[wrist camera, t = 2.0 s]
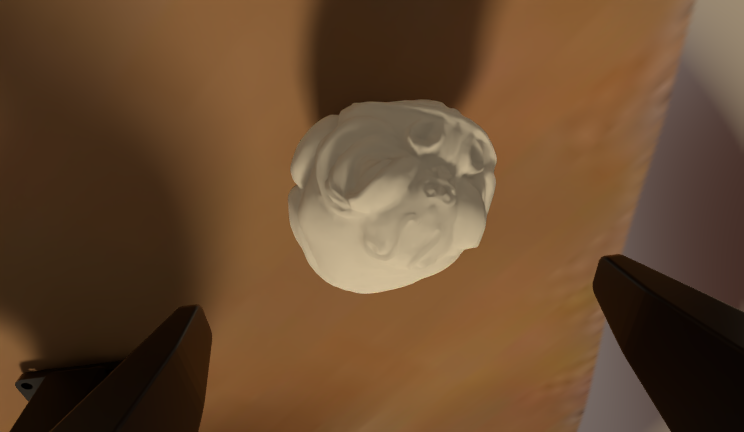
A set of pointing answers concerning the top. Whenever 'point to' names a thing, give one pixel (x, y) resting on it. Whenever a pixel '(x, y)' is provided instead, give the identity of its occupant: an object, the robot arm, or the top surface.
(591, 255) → the top surface
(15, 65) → the top surface
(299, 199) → the frog figurine
